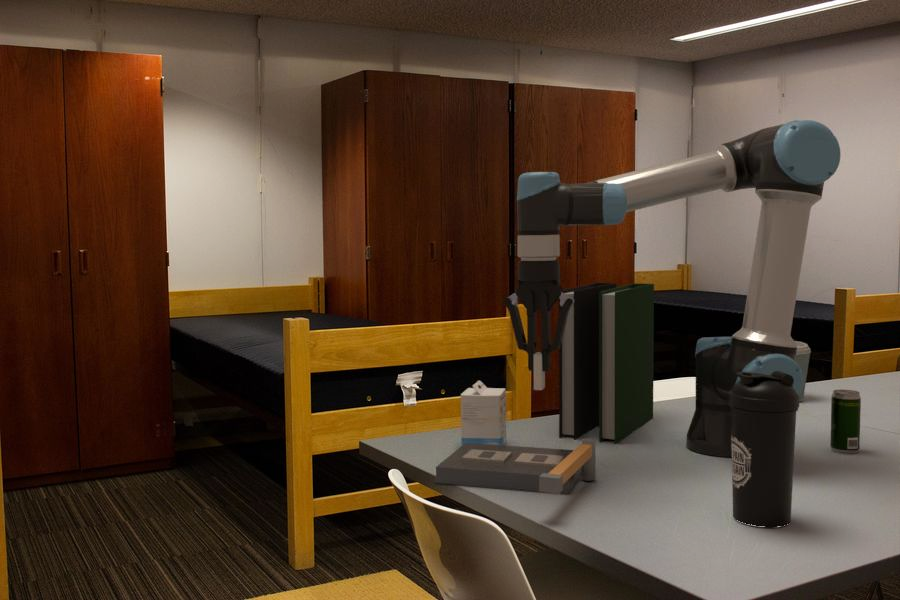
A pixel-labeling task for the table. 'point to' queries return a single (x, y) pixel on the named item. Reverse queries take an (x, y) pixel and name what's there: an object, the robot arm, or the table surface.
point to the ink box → (483, 415)
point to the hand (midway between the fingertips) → (539, 388)
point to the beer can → (845, 421)
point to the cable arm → (570, 468)
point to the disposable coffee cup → (802, 362)
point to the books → (607, 360)
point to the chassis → (502, 467)
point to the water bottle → (763, 447)
